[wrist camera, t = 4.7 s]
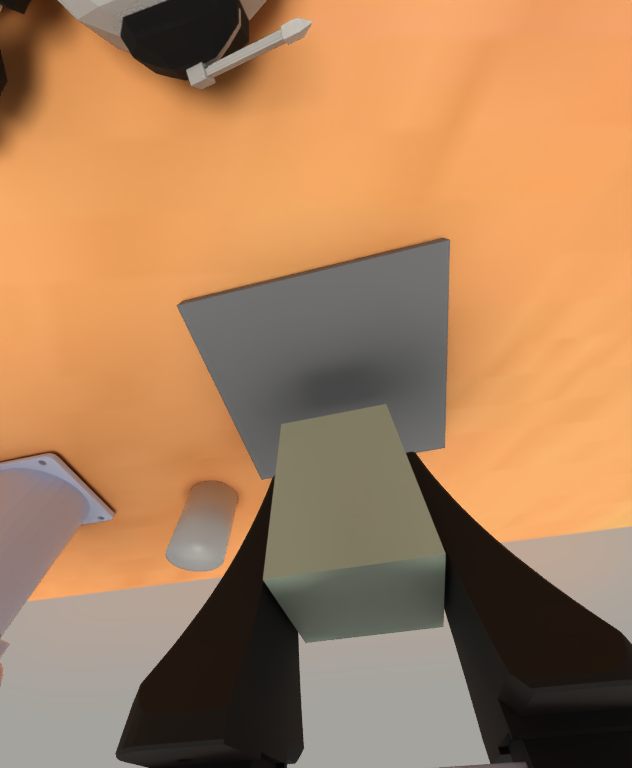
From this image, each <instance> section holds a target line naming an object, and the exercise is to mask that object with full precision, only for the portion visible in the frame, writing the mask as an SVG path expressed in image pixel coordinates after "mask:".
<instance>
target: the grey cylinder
mask: <svg viewBox="0 0 632 768" xmlns="http://www.w3.org/2000/svg"><path fill="white" fill-rule="evenodd" d="M237 502H238V494H237V492H236V491H235V490H234V489H233V488H232V487H231V486H229V485H227V484H225V483H222V482H218V481H204V482H200V483H198V484H196V485H195V486H194V487H193V488H192V489H191V492H190V494H189V496H188V499H187V501H186V504H185V506H184V509H183V511H182V514H181V516H180V518H179V521H178V523H177V526H176V528H175V531H174V533H173V536H172V538H171V541H170V543H169V545H168V548H167V550H166V558H167V559H168V561H169V562H170V563H172V564H173V565H175V566H177V567H179V568H181V569H185V570H189V571H210V570H213V569H216V568H218V567H219V566H221V565H222V563H223V562H224V558H225V553H226V549H227V545H228V541H229V536H230V532H231V528H232V524H233V519H234V515H235V511H236V507H237Z"/></svg>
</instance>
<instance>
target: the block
mask: <svg viewBox="0 0 632 768" xmlns="http://www.w3.org/2000/svg"><path fill="white" fill-rule="evenodd" d="M445 562H446V553H445V551H444V548H443V546H442V543H441V541H440V538H439V536H438V533H437V531H436V528H435V526H434V523H433V521H432V518H431V516H430V513H429V511H428V508H427V505H426V503H425V500H424V498H423V495H422V493H421V490H420V488H419V485H418V483H417V480H416V478H415V475H414V473H413V470H412V468H411V465H410V463H409V460H408V458H407V455H406V453H405V450H404V447H403V445H402V442H401V440H400V437H399V435H398V432H397V430H396V427H395V425H394V422H393V420H392V417H391V415H390V412H389V410H388V407H387V405H386V404H383V405H378V406H373V407H368V408H362V409H357V410H352V411H347V412H342V413H337V414H331V415H326V416H321V417H316V418H311V419H305V420H300V421H295V422H290V423H285V424H281V431H280V439H279V447H278V456H277V464H276V473H275V481H274V490H273V498H272V506H271V515H270V523H269V532H268V540H267V548H266V557H265V565H264V574H263V581H264V582H265V584H266V585H267V587H268V588H269V590H270V591H271V593H272V594H273V596H274V597H275V598H276V600H277V601H278V603H279V604H280V606H281V607H282V609H283V610H284V612H285V613H286V615H287V616H288V618H289V619H290V621H291V622H292V624H293V625H294V626H295V628H296V629H297V631H298V632H299V634H300V635H301V637H302V638H303V640H304V641H305V643H308V642H317V641H326V640H334V639H343V638H351V637H359V636H368V635H377V634H386V633H395V632H403V631H411V630H420V629H429V628H437V627H443V620H444V591H445Z"/></svg>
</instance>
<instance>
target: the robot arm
mask: <svg viewBox="0 0 632 768" xmlns="http://www.w3.org/2000/svg"><path fill="white" fill-rule="evenodd" d="M406 455H407V458H408V460H409V463H410V465H411V468H412V470H413V473H414V475H415V478H416V480H417V483H418V485H419V488H420V490H421V493H422V495H423V498H424V500H425V503H426V505H427V508H428V511H429V513H430V516H431V518H432V521H433V523H434V526H435V528H436V531H437V533H438V536H439V538H440V541H441V543H442V546H443V548H444V551H445V553H446V562H445V591H444V609H445V612H446V616H447V619H448V622H449V625H450V629H451V632H452V635H453V638H454V642H455V645H456V648H457V652H458V655H459V659H460V662H461V666H462V669H463V672H464V676H465V679H466V683H467V686H468V690H469V693H470V697H471V700H472V703H473V707H474V710H475V714H476V717H477V721H478V724H479V728H480V732H481V735H482V739H483V742H484V745H485V748H486V751H487V754H488V757H489V760H490V763H491V764H485V765H470V766H455V767H441V768H632V644H631V643H630V642H629V641H628V639H627V638H626V637H625V636H624V635H623V634H622V633H621V632H620V631H619V630H617V629H616V628H614V627H613V626H611V625H610V624H608V623H607V622H605V621H604V620H602V619H601V618H599V617H598V616H596V615H595V614H593V613H592V612H590V611H589V610H587V609H586V608H585V607H583V606H582V605H580V604H579V603H577V602H576V601H574V600H573V599H572V598H570V597H569V596H568V595H566V594H565V593H563V592H562V591H561V590H559V589H558V588H556V587H555V586H554V585H552V584H551V583H550V582H548V581H547V580H546V579H544V578H543V577H542V576H540V575H539V574H538V573H537V572H535V571H534V570H533V569H532V568H530V567H529V566H528V565H527V564H525V563H524V562H523V561H521V560H520V559H519V558H517V557H516V556H515V555H514V554H513V553H511V552H510V551H509V550H508V549H506V548H505V547H504V546H503V545H502V544H501V543H500V542H498V541H497V540H496V539H495V538H494V537H493V536H492V535H490V534H489V533H488V532H487V531H486V530H485V529H484V528H483V527H482V526H480V525H479V524H478V523H477V522H476V521H475V520H474V519H473V518H472V517H471V516H470V515H469V514H468V513H467V512H466V511H465V510H464V509H463V508H462V507H461V506H460V505H459V504H458V503H457V502H456V501H455V500H454V499H453V498H452V497H451V495H450V494H449V493H448V492H447V491H446V490H445V489H444V488H443V487H442V486H441V484H440V483H439V482H438V481H437V480H436V479H435V477H434V476H433V475H432V474H431V473H430V471H429V470H428V469H427V468H426V466H425V465H424V464H423V462H422V461H421V460H420V458H419V457H418V456H417V454H416V453H415V452H413V451H412V452H406ZM274 481H275V475H274V477H273V478H272V481H271V483H270V486H269V488H268V491H267V493H266V496H265V498H264V500H263V503H262V505H261V507H260V509H259V511H258V514H257V516H256V518H255V520H254V522H253V524H252V526H251V528H250V530H249V532H248V534H247V536H246V538H245V540H244V542H243V543H242V545H241V547H240V549H239V551H238V553H237V554H236V556H235V558H234V560H233V561H232V563H231V565H230V566H229V568H228V570H227V571H226V573H225V574H224V576H223V578H222V579H221V581H220V582H219V584H218V585H217V587H216V588H215V590H214V591H213V593H212V594H211V596H210V597H209V599H208V600H207V602H206V603H205V604H204V606H203V607H202V609H201V610H200V611H199V613H198V614H197V615H196V617H195V618H194V619H193V621H192V622H191V623H190V625H189V626H188V627H187V629H186V630H185V631H184V632H183V634H182V635H181V636H180V638H179V639H178V640H177V641H176V643H175V644H174V645H173V646H172V648H171V649H170V650H169V651H168V653H167V654H166V655H165V656H164V657H163V659H162V660H161V661H160V662H159V663H158V664H157V666H156V667H155V668H154V669H153V670H152V672H151V673H150V674H149V675H148V676H147V677H146V679H145V680H144V681H143V682H142V683H141V685H140V687H139V690H138V692H137V695H136V697H135V699H134V702H133V704H132V707H131V710H130V713H129V716H128V719H127V722H126V725H125V728H124V730H123V734H122V736H121V739H120V742H119V745H118V748H117V751H116V757H117V759H119V760H120V761H124V762H127V763H132V764H136V765H140V766H144V767H148V768H287V764H295V763H296V762H297V760H298V759H299V757H300V755H301V753H302V751H303V749H304V743H303V728H302V711H301V693H300V671H299V644H298V631H297V629H296V628H295V626H294V625H293V624H292V622H291V621H290V619H289V618H288V616H287V615H286V613H285V612H284V610H283V609H282V607H281V606H280V604H279V603H278V601H277V600H276V598H275V597H274V596H273V594H272V593H271V591H270V590H269V588H268V587H267V585H266V584H265V582H264V581H263V574H264V565H265V557H266V548H267V540H268V532H269V523H270V515H271V506H272V498H273V490H274ZM114 515H115V514H114V512H113V511H112V510H111V509H110V508H109V507H108V506H107V505H106V504H105V503H104V502H103V501H102V500H101V499H100V498H99V497H98V496H97V495H96V494H95V493H94V492H93V491H92V490H91V489H90V488H89V487H88V486H87V485H86V484H85V483H84V482H83V481H82V480H81V479H80V478H79V477H78V476H77V475H76V474H75V473H74V472H73V471H72V470H71V469H70V468H69V467H68V466H67V465H66V464H65V463H64V462H63V461H62V460H61V459H60V458H59V457H58V456H57V455H55V454H52V453H46V454H41V455H36V456H31V457H26V458H21V459H16V460H11V461H6V462H1V463H0V638H1V636H2V635H3V634H4V632H5V631H6V630H7V628H8V627H9V625H10V624H11V622H12V621H13V620H14V618H15V617H16V615H17V614H18V613H19V611H20V610H21V608H22V607H23V605H24V604H25V603H26V601H27V600H28V598H29V597H30V596H31V594H32V593H33V591H34V590H35V589H36V587H37V586H38V584H39V583H40V582H41V580H42V579H43V577H44V576H45V574H46V573H47V572H48V570H49V569H50V567H51V566H52V565H53V563H54V562H55V560H56V559H57V558H58V556H59V555H60V553H61V552H62V550H63V549H64V548H65V546H66V545H67V543H68V542H69V541H70V539H71V538H72V536H73V535H74V534H75V532H76V531H77V529H78V528H79V526H80V525H84V524H90V523H96V522H102V521H107V520H111V519H112V518H113V517H114ZM8 646H9V643H7V642H5V641H3V640H1V639H0V658H1V656H2V655H3V653H4V652H5V650H6V649H7V647H8ZM2 676H3V668H2V664H1V663H0V685H1V681H2Z"/></svg>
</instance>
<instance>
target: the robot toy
mask: <svg viewBox="0 0 632 768" xmlns="http://www.w3.org/2000/svg"><path fill="white" fill-rule="evenodd" d="M30 1H31V0H0V12H1V10H2V7H6V8H8V9H11V10H14V11H17V12H20V13H22V14H25V11H26V9H27V7H28V5H29V3H30ZM58 1H59V2H60V3H61V4H62V5H63V6H64V7H65V8H66V9H67V10H68V11H69V12H70V13H71V14H72V15H73V16H74V17H75V18H76V19H77V20H78V21H80V22H81V23H82V24H84V25H85V26H87V27H88V28H90V29H91V30H92V31H94V32H95V33H97V34H98V35H99V36H101V37H102V38H104V39H105V40H107V41H108V42H109V43H111V44H112V45H114V46H115V47H117V48H118V49H121V50H124V51H128V52H130V53H131V54H132V56H133V57H134V58H135V59H137V60H138V61H139V62H141V63H142V64H144V65H145V66H146V67H148V68H149V69H151V70H152V71H153V72H155V73H157V74H160V75H164V76H168V77H172V78H177V79H182V80H187V79H189V81H190V84H191V86H193V87H195V88H198V89H201V90H202V89H204V88H206V87H208V86H210V85H212V84H214V83H216V82H215V78H214V77H216V76H218V75H220V74H222V73H224V72H226V71H228V70H230V69H233V68H235V67H237V66H239V65H241V64H243V63H245V62H247V61H249V60H251V59H253V58H255V57H257V56H260V55H262V54H264V53H266V52H268V51H270V50H272V49H274V48H276V47H278V46H280V45H282V44H285V43H287V44H288V45H289V44H291V43H293V42H295V41H297V40H299V39H302V38H304V36H305V34H306V33H307V31H308V29H309V28H310V26H311V24H312V22H313V21H309V20H304V19H300V18H295V19H293V20H291V21H289V22H287V23H285V24H283V25H281V29H280V30H278V31H276V32H274V33H272V34H270V35H268V36H266V37H264V38H262V39H260V40H258V41H256V42H254V43H252V44H250V45H248V46H246V47H244V46H245V45H246V44H247V43H248V42H249V21H250V20H251V18H252V17H253V16H254V15H255V14H256V13H257V11H258V10H259V9H260V8H261V7H262V6H263V4H264V3H265V2H266V1H267V0H58ZM243 47H244V48H243ZM6 83H7V76H6V72H5V68H4V63H3V59H2V55H1V50H0V95H1V93H2V91H3V89H4V87H5V85H6Z"/></svg>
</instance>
